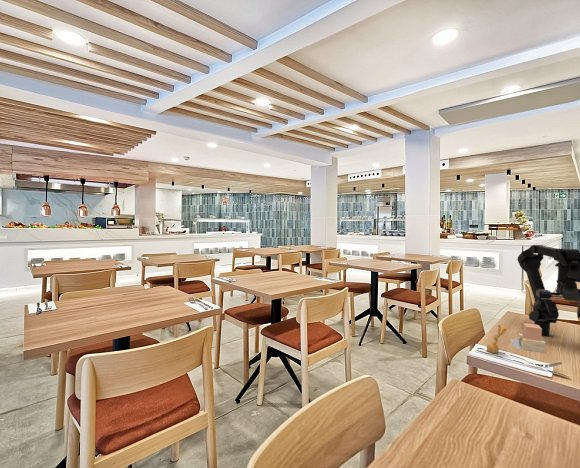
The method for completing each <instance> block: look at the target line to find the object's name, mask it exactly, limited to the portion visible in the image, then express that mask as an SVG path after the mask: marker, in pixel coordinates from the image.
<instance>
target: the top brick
mask: <svg viewBox="0 0 580 468" xmlns="http://www.w3.org/2000/svg"><path fill="white" fill-rule="evenodd" d="M521 334H522V335H523V336H524V337H525V339H529V340H536V341H541V339H542V337H543V336H542V328H541V327H540V326H539V325H535V324H534V323H526V322H523V323H522V333H521Z"/></svg>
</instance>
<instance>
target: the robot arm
mask: <svg viewBox="0 0 580 468" xmlns="http://www.w3.org/2000/svg"><path fill="white" fill-rule="evenodd" d="M544 256H546V257H549V258H553V260H554V261H556V262H557V263H556V264H554V266H555V267H557V279H556V285H557V286H556V289H555V292H551V290H548V289H546V288H545V285H544V282H543V279H542V277H541V272H540V268H541V265H542V263H541V262H542V261H543V260H544ZM517 263H518V265H519V266H520V268H521V269H522V270H523V271H524V272H525V274H526V276H527V279H528V281H529V285H530V289H531V292H532V295H533V298H534V304H533V305H532V311H531V312H529V314H528V319H529V320H530V321H532V322H534V323H533V324H535V325H539V326H540V327H541V328H542V336H541V337H548V338H549V337H550V338H552V335H551V324H557V322H558V318H559V316H560V313H559V309H558V306H557V303H556V302H555V301H553V299H551V298H560V299H561V298H563V299H564V300H565V301H574V302H577V309H576V314H577V315H576V317H577V318H578V319H580V288H578V283H580V250H579V249H577V248H556V247H552V246H546V245H543V244H533V245H531V246H529V247H528V248H527V249H525V250H522V252H521V253H520V254H519V255H518V256H517Z"/></svg>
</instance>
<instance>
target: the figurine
mask: <svg viewBox="0 0 580 468" xmlns="http://www.w3.org/2000/svg"><path fill="white" fill-rule="evenodd" d="M497 327H498V329H497V331H498V333H497V334H495V335H494V337H493V342H489V343H488V344H487V345H486V350H487V351H488V352H489V353H490V354H497V353H499V351H500V349H499V345H498V342H499V338H500V337H501V336H503V334H504V333H505V332H506V331H507V327H506V326H504V325H502V324H500V323H498V324H497Z"/></svg>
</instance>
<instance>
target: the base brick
mask: <svg viewBox="0 0 580 468" xmlns="http://www.w3.org/2000/svg"><path fill="white" fill-rule="evenodd" d="M522 334H523V333H519V334H518V340H519V345H520V346H521V347H522V349H524V350H523V351H527V350H531V351H530V352H534V351H537V352H536V353H540V352H546V351H545V349H546V342H545V341H544V340H543V338H541V341H536V340H529V339H525V337H524V336H523V335H522Z"/></svg>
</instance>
